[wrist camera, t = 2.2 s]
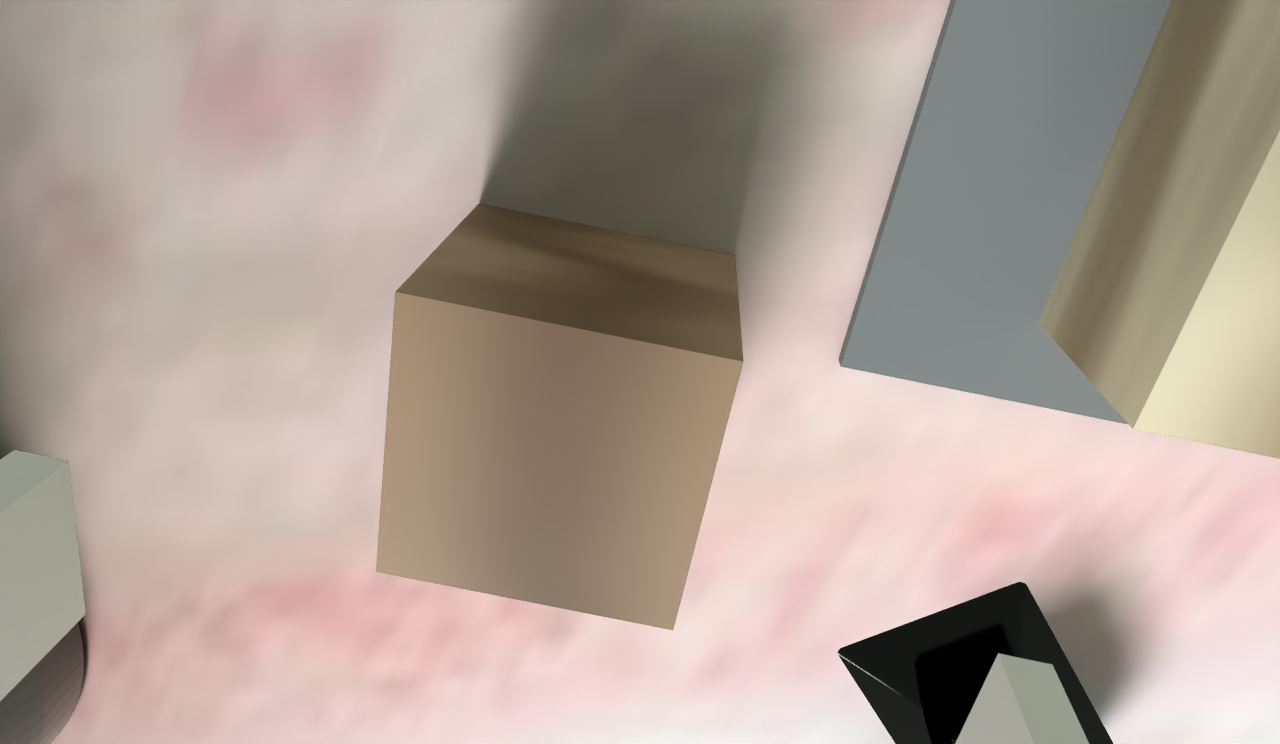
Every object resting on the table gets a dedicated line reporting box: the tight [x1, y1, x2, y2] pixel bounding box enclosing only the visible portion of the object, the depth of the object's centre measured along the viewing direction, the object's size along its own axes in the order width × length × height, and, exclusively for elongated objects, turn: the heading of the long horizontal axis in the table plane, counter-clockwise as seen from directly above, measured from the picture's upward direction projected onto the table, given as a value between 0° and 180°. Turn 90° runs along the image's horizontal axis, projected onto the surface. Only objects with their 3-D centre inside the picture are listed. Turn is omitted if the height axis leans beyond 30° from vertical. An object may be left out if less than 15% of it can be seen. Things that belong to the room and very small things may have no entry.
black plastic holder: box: [838, 582, 1113, 744], centre depth 24 cm, size 12×7×5 cm, turn 32°
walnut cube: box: [376, 204, 743, 630], centre depth 19 cm, size 6×6×6 cm
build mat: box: [839, 0, 1171, 424], centre depth 18 cm, size 12×16×1 cm
